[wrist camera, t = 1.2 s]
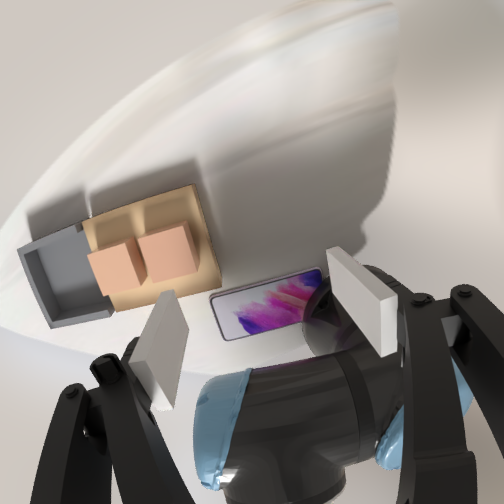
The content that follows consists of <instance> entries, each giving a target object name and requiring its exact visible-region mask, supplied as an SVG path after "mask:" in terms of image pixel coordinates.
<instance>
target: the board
mask: <svg viewBox="0 0 504 504" xmlns="http://www.w3.org/2000/svg"><path fill="white" fill-rule="evenodd" d="M186 220H187V222H188V225H189V228H190V232H191V235H192V238H193V242H194V245H195V248H196V251H197V255H198V258H199V261H200V265H199V269H198V272H196V273H193V274H189V275H185V276H181V277H177V278H173V279H169V280H165V281H161V282H157V283H153V282H152V279H151V276H150V274H149V271H148V268H147V265H146V263H145V260H144V257H143V254H142V251H141V248H140V245H139V242H138V238H139V237H140V236H142V235H143V234H144V233H145V232H148V231H152V230H155V229H158V228H162V227H165V226H168V225H172V224H175V223H179V222H182V221H186ZM82 224H83V228H84V231H85V234H86V237H87V240H88V242H89V245H90V248H91V251H93V250H95V249H96V248H98V247H101V246H104V245H107V244H110V243H113V242H116V241H119V240H122V239H126V238H129V237H132V236H134V239H135V242H136V245H137V248H138V251H139V254H140V257H141V259H142V262H143V265H144V268H145V271H146V273H147V276H148V277H147V278H146V280H145V281H144V283H143V284H142V286H141V287H138V288H134V289H130V290H126V291H122V292H118V293H114V294H110V295H109V297H110V299H111V301H112V304H113V306H114V308H115V310H116V312H120V311H125V310H129V309H134V308H138V307H142V306H147V305H151V304H155V303H156V302H157V300H158V298H159V296H160V294H161V292H163V291H167V290H171V289H174V292H175V294H176V297H177V298H181V297H185V296H189V295H193V294H197V293H201V292H205V291H209V290H213V289H217V288H221V287H222V276H221V273H220V269H219V266H218V263H217V259H216V256H215V253H214V249H213V246H212V243H211V239H210V236H209V232H208V229H207V225H206V222H205V218H204V215H203V211H202V208H201V204H200V201H199V197H198V193H197V190H196V186H195V183H194V184H191V185H188V186H184V187H181V188H178V189H174V190H171V191H168V192H164V193H161V194H158V195H155V196H152V197H149V198H146V199H143V200H140V201H137V202H134V203H131V204H128V205H125V206H122V207H119V208H116V209H114V210H111V211H108V212H105V213H102V214H100V215H97V216H94V217H92V218H89V219H87V220H85V221H83V222H82Z"/></svg>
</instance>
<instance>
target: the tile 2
mask: <svg viewBox="0 0 504 504" xmlns="http://www.w3.org/2000/svg"><path fill="white" fill-rule="evenodd" d="M138 242H139V245H140V248H141V251H142V254H143V257H144V260H145V263H146V265H147V268H148V271H149V274H150V276H151V279H152V282H153V283H157V282H161V281H165V280H169V279H173V278H177V277H181V276H185V275H189V274H193V273H196V272H198V269H199V265H200V261H199V258H198V255H197V251H196V248H195V245H194V242H193V238H192V235H191V232H190V228H189V225H188V222H187V220H186V221H182V222H179V223H175V224H172V225H168V226H165V227H162V228H158V229H155V230H152V231H148V232H145V233H144V234H143V235H142V236H140V237H139V238H138Z"/></svg>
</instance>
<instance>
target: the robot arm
mask: <svg viewBox="0 0 504 504" xmlns="http://www.w3.org/2000/svg"><path fill="white" fill-rule="evenodd" d="M326 254H327V260H328V266H329V273H330V276H328V277H327V278H326V279H325V280H324V281H323V282H322V283H321V284H320V285H319V286H318V287H317V288H316V290H315V291H314V292H313V294H312V295H311V297H310V299H309V300H308V302H307V305H306V307H305V310H304V314H303V321H302V329H303V334H304V337H305V339H306V341H307V344H308V346H309V347H310V349H311V351H312V352H313V353H314V354H315V355H316V357H312V358H308V359H303V360H299V361H294V362H289V363H284V364H278V365H273V366H268V367H262V368H256V369H253V368H247V369H246V371H241V372H236V373H231V374H225V375H220V376H216V377H214V378H212V379H210V380H209V381H208V382H206V384H205V385H204V386H203V388H202V389H201V392H200V394H199V397H198V400H197V405H196V410H195V417H194V427H193V448H194V460H195V467H196V471H197V475H198V478H199V479H200V480H201V484H202V485H203V486H204V487H205V488H207V489H212V490H214V491H218V490H220V489H223V491H224V494H225V498H226V502H227V504H333V501H334V500H335V499H336V498H337V497H338V496H340V494H341V493H342V492H343V491H344V489H345V486H346V478H345V467H346V466H350V465H353V464H356V463H359V462H362V461H365V460H368V459H371V458H375V459H376V463H377V464H378V465H380V466H381V467H382V468H384V469H386V470H393V469H401V473H400V483H399V491H398V497H397V501H396V504H477V469H476V460H475V455H474V453H473V452H472V451H468V450H467V446H466V438H465V430H464V421H463V417H464V416H465V414H466V413H467V411H468V409H469V407H470V405H471V403H472V400H473V397H475V399H476V400H477V403H478V405H479V407H480V408H481V410H482V412H483V415H484V417H485V418H486V420H487V423H488V425H489V427H490V429H491V431H492V433H493V435H494V438H495V440H496V442H497V444H498V446H499V449H500V451H501V453H502V456H503V458H504V314H503V313H502V312H501V311H500V310H499V309H498V308H497V307H496V306H495V305H494V304H493V303H492V302H490V300H489V299H488V298H487V297H486V296H485V295H483V294H482V293H481V292H480V291H479V290H478V289H477V288H475V287H474V286H471V285H468V284H466V285H465V284H462V285H458V286H455V287H453V289H451V294H450V298H448V299H443V300H437V301H435V299H434V298H433V296H431V295H429V294H426V293H415V294H414V293H413V292H411V291H410V290H409V289H408V288H406V287H405V286H404V285H403V284H402V285H401V283H400V282H398V281H397V280H396V279H395V278H393V277H392V276H390V275H387V273H385V272H384V271H382V270H381V269H379V268H376V267H374V266H369V265H361V264H360V263H359V262H358V261H356V260H355V259H354V258H353V257H351V256H350V255H349V254H348V253H346V252H345V251H344V250H343V249H341V248H340V247H339V246H337V247H333V248H329V249H326ZM188 333H189V328H188V325H187V323H186V320H185V318H184V315H183V313H182V310H181V307H180V305H179V302H178V300H177V297H176V294H175V292H174V289H171V290H167V291H163V292H161V294H160V296H159V298H158V300H157V302H156V304H155V306H154V308H153V310H152V312H151V314H150V316H149V319H148V321H147V323H146V325H145V327H144V329H143V331H142V334H141V336H140V337H135V338H134V339H133V340H132V341H131V342H130V343H129V344H128V346H127V348H126V351H125V352H124V354H123V357H122V358H121V360H119V358H118V357H117V355H116V354H113V353H109V354H105V355H102V356H100V357H98V358H97V359H95V360H94V361H93V362H92V364H91V365H90V370H91V372H92V374H93V375H94V377H95V378H96V380H97V382H98V383H99V386H100V387H98V388H94V389H91V390H88V391H87V390H86V389H85V387H84V386H83V385H82V384H80V383H75V384H72V385H69V386H67V387H66V388H65V389H64V390H63V391H62V393H61V394H60V397H59V400H58V403H57V405H56V408H55V411H54V414H53V417H52V420H51V423H50V426H49V429H48V433H47V436H46V439H45V443H44V446H43V450H42V453H41V457H40V461H39V465H38V469H37V473H36V477H35V482H34V486H33V491H32V496H31V501H30V504H111V480H112V465H113V469H114V473H115V477H116V481H117V485H118V488H119V492H120V496H121V499H122V502H123V504H195V502H194V500H193V498H192V497H191V495H190V493H189V491H188V489H187V487H186V486H185V484H184V481H183V479H182V478H181V475H180V473H179V471H178V469H177V467H176V466H175V463H174V461H173V459H172V457H171V455H170V452H169V450H168V448H167V446H166V444H165V441H164V439H163V437H162V434H161V432H160V430H159V427H158V425H157V422H156V420H155V417H154V415H153V414H152V412H151V411H150V407H151V403H153V405H154V407H155V408H156V410H157V411H164V410H173V409H174V405H175V399H176V394H177V388H178V383H179V377H180V372H181V367H182V362H183V357H184V352H185V347H186V343H187V338H188ZM83 430H84V431H85V435H84V432H83Z"/></svg>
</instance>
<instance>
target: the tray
mask: <svg viewBox="0 0 504 504" xmlns="http://www.w3.org/2000/svg"><path fill="white" fill-rule="evenodd" d="M86 220H87V219H86ZM84 221H85V220H84ZM82 222H83V221H81V222H79V223H76V224H74V225H71V226H68V227H66V228H63V229H61V230H59V231H56V232H54V233H51V234H49V235H47V236H44V237H42V238H40V239H37V240H35V241H33V242H31V243H29V244H27V245H25V246H23V247H21V248H19V249H17V252H18V255H19V257H20V260H21V263H22V266H23V268H24V271H25V273H26V276H27V278H28V281H29V283H30V286H31V288H32V290H33V293H34V295H35V297H36V300H37V302H38V304H39V306H40V308H41V310H42V313H43V315H44V317H45V319H46V321H47V323H48V325H49V327H50V329H54V328H59V327H64V326H69V325H74V324H79V323H84V322H89V321H93V320H98V319H103V318H107V317H111V316H112V314H113V313H114V311H115V308H114V306H113V304H112V301H111V299H110V297H109V295H106V296H103V294H102V292H101V290H100V287H99V285H98V282H97V280H96V277H95V275H94V272H93V270H92V267H91V265H90V262H89V259H88V257H87V255H88V254H89V253H91V252H92V251H91V248H90V245H89V242H88V240H87V237H86V234H85V231H84V228H83V224H82Z"/></svg>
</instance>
